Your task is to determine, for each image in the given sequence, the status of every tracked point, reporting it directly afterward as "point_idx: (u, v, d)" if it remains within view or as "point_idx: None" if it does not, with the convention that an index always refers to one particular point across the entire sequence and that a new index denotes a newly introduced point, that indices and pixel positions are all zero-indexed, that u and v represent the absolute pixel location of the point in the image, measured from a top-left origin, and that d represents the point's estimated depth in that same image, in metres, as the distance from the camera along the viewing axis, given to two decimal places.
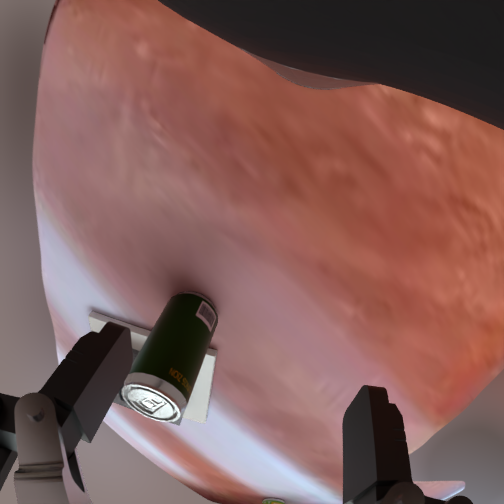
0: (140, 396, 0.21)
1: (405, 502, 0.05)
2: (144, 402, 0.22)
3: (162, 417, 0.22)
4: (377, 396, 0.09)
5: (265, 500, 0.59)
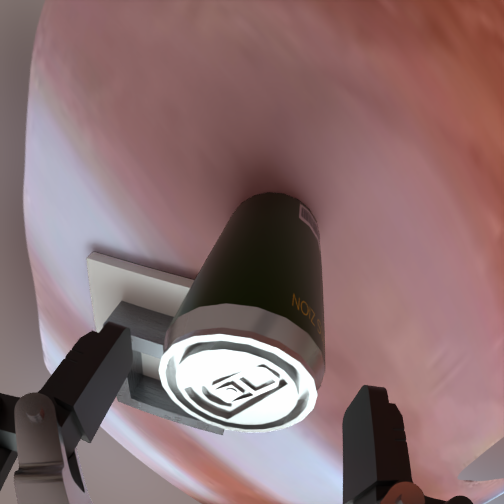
0: (212, 371, 0.09)
1: (405, 502, 0.05)
2: (218, 389, 0.09)
3: (256, 422, 0.10)
4: (377, 396, 0.09)
5: None
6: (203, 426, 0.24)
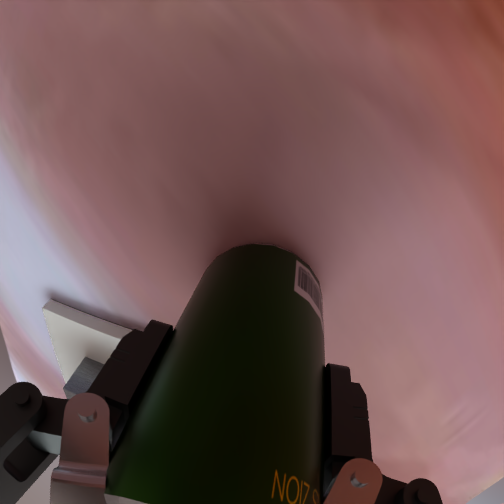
0: None
1: (360, 479, 0.06)
2: None
3: None
4: (339, 374, 0.09)
5: None
6: None
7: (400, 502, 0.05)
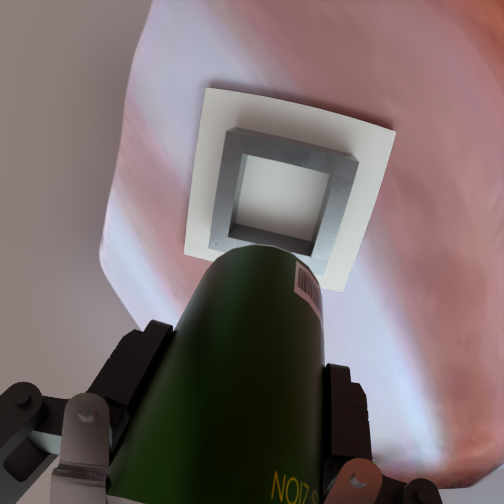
0: None
1: (360, 479, 0.06)
2: None
3: None
4: (339, 374, 0.09)
5: None
6: None
7: (400, 502, 0.05)
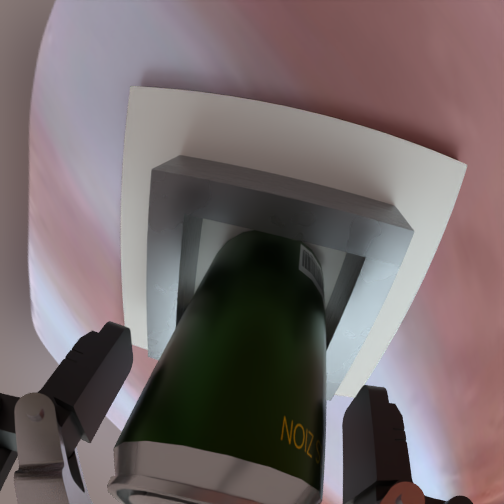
0: None
1: (405, 502, 0.05)
2: None
3: None
4: (377, 396, 0.09)
5: None
6: None
7: None
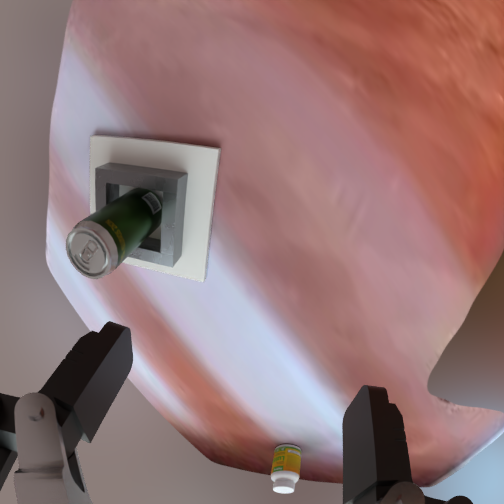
0: (79, 244, 0.25)
1: (405, 502, 0.05)
2: (83, 254, 0.25)
3: (96, 271, 0.26)
4: (377, 396, 0.09)
5: (278, 448, 0.54)
6: (158, 258, 0.35)
7: None
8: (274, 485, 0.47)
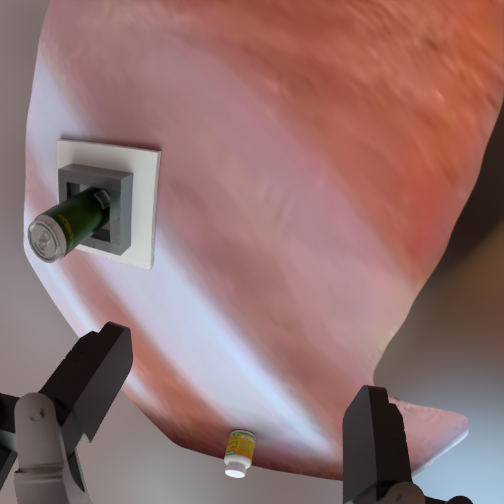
0: (37, 234, 0.28)
1: (405, 502, 0.05)
2: (40, 242, 0.28)
3: (50, 256, 0.29)
4: (377, 396, 0.09)
5: (232, 433, 0.58)
6: (108, 247, 0.38)
7: None
8: (226, 468, 0.51)
